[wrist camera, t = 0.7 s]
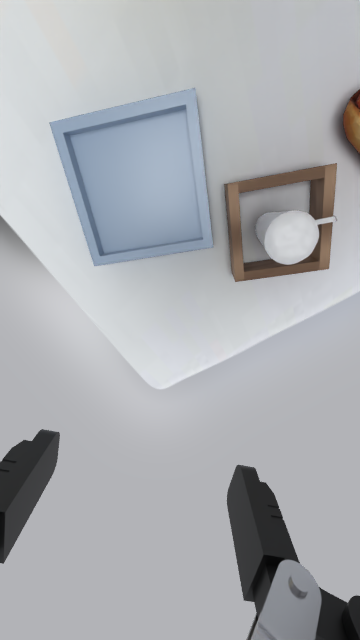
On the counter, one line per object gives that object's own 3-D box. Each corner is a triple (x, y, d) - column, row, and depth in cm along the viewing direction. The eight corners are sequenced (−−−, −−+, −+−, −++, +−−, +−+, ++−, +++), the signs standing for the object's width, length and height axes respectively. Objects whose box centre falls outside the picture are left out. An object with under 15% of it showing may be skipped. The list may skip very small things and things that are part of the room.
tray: (61, 127, 27) (49, 122, 25) (195, 96, 26) (195, 87, 23) (101, 260, 33) (94, 266, 31) (212, 243, 32) (213, 247, 29)
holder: (224, 184, 29) (227, 183, 26) (321, 166, 27) (337, 163, 24) (231, 273, 33) (235, 281, 30) (316, 261, 32) (328, 268, 29)
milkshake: (303, 227, 30) (347, 243, 21) (261, 254, 32) (285, 280, 23) (285, 191, 29) (324, 192, 20) (241, 221, 30) (259, 235, 21)
